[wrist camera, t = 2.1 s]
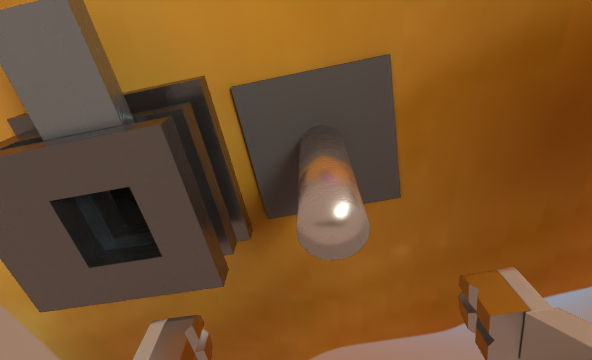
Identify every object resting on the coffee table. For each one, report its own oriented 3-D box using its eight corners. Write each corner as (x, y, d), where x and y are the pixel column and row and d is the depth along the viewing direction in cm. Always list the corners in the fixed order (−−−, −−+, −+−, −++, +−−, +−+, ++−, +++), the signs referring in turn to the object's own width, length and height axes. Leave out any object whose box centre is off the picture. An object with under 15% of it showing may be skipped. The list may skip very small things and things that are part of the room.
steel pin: (340, 121, 22) (365, 194, 13) (346, 162, 23) (373, 254, 14) (295, 129, 22) (290, 206, 13) (304, 170, 24) (304, 264, 15)
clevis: (176, -14, 19) (114, -28, 13) (252, 230, 26) (236, 298, 20) (-25, 35, 20) (-170, 44, 14) (100, 254, 28) (41, 324, 21)
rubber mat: (388, 54, 20) (390, 54, 20) (399, 195, 25) (400, 197, 24) (231, 86, 21) (230, 87, 21) (268, 217, 26) (267, 219, 25)
